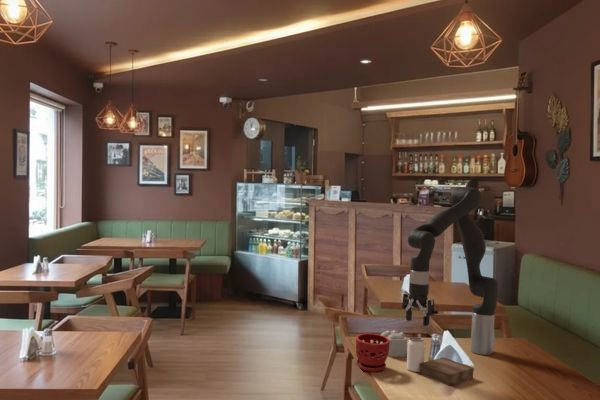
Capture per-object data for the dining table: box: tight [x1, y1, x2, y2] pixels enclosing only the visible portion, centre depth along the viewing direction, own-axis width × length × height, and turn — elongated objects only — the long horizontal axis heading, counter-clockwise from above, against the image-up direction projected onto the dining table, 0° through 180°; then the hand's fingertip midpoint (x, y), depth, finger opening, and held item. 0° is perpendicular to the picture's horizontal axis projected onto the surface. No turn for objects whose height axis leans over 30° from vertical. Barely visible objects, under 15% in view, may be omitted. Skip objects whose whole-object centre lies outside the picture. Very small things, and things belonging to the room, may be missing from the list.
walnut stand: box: [418, 356, 474, 386], centre depth 203 cm, size 14×14×4 cm
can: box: [406, 336, 426, 373], centre depth 209 cm, size 6×6×12 cm
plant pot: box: [355, 332, 390, 373], centre depth 208 cm, size 13×13×12 cm
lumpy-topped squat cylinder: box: [380, 329, 408, 358], centre depth 230 cm, size 10×13×9 cm
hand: (417, 323), depth 208 cm, fingers open, 8 cm apart
